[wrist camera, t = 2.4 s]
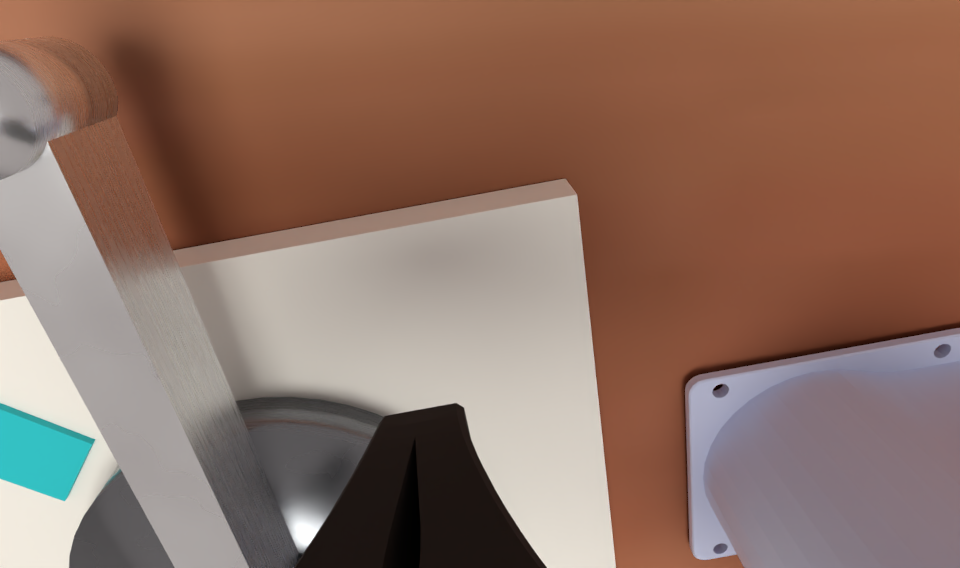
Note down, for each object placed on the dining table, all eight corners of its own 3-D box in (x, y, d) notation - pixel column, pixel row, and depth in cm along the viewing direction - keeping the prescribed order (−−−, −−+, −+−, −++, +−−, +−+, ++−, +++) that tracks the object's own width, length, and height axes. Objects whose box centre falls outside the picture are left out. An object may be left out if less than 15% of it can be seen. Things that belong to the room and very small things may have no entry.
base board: (565, 178, 17) (578, 197, 15) (617, 648, 25) (629, 690, 24) (-156, 311, 17) (-215, 342, 15) (139, 732, 25) (120, 779, 24)
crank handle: (512, 642, 22) (529, 781, 18) (183, 700, 22) (129, 851, 18) (363, -20, 13) (332, -28, 9) (-200, 85, 13) (-474, 124, 9)
